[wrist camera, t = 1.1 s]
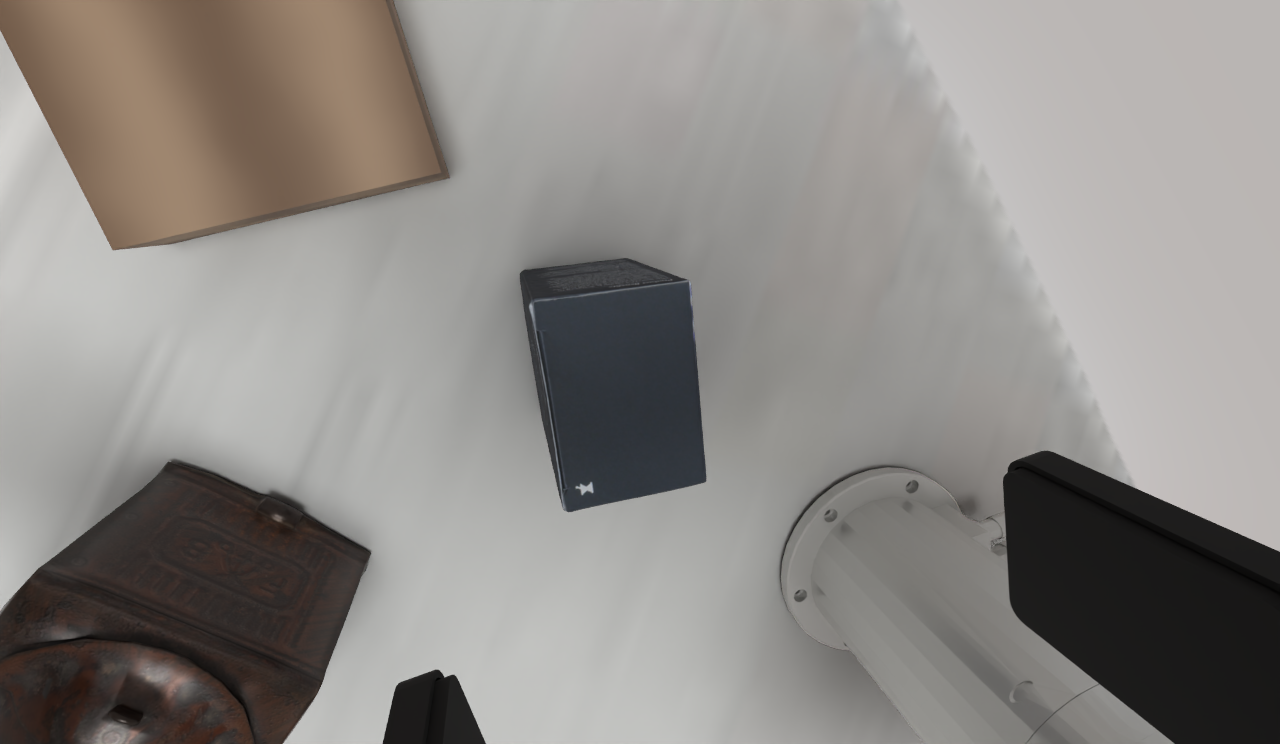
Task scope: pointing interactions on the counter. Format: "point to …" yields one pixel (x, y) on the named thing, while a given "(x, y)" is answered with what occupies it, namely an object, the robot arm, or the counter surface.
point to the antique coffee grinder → (177, 621)
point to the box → (615, 379)
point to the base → (224, 107)
